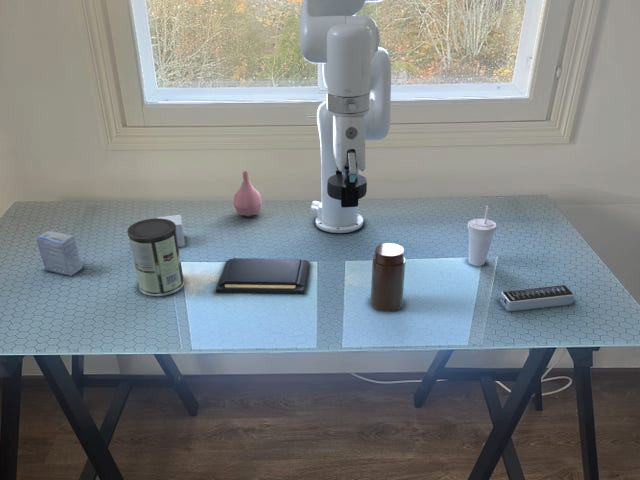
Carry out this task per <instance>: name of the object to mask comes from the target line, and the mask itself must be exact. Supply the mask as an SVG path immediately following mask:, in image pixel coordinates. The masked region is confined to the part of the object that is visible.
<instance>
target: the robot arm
mask: <svg viewBox="0 0 640 480" xmlns="http://www.w3.org/2000/svg"><path fill="white" fill-rule="evenodd" d="M382 1H384V0H304V1H303V4H302V6H301V8H300V14H299V20H298V21H299V23H298V24H299V25H298V27H299V28H298V44H299V51H300V54H301V56H302V57H303V59H304V60H305V61H306V62H308V63H311V64H322V77H323V78H322V80H323V84H324V87H325V88H326V100H325V101H323V102H322V103H320V104H319V106H318V108H317V111H316V123H317V128H318V135H319V142H320V143H319V145H320V165H321V166H320V169H321V170H320V184H321V185H320V186H321V187H320V188H321V190H320V191H321V192H320V193H321V195H320V197H321V199H320V200H321V201H317V200H313V201H312V203H311V206H310V211H311V212H314V213H317V216H316V218H315V225H316V227H317V228H318V229H319V230H321V231H324V232H327V233H332V234H346V233H352V232H355V231H358V230H359V229H361V228H362V227H363V225H364V217H363V216H362V215H361V214H360V213H358V212H359V199H358V194H359V186H358V175H360V174H359V173H360V171H361V172H364V171H365V170H366V141H378V140H383V139H384V138H386V137H387V136H388V134H389V132H390V127H391V100H392V63H391V57H390V55H389V53H388V51H387V49H385V48H383V47H381V46H380V40H381V39H380V38H381V36H380V32H381V31H380V27H379V25H377V22H376V21H375V20H374V19H373V17H370V16H368V15H357V14H358V13H359V12H360V11H361V10H362V9H363V8H364V7H365V4H366V3H380V2H382ZM370 96H371V97H370ZM341 173H342V180H343V186H341V200H337V199H334V198H331V197H330V196H329V195H328V193H327V183H328V178H329V177H331V176H333V175H336V174H341ZM346 174H349V176H347V178H346Z"/></svg>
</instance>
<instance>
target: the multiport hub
mask: <svg viewBox="0 0 640 480" xmlns="http://www.w3.org/2000/svg"><path fill="white" fill-rule="evenodd" d="M574 297H575V293H574V292H573V291H572V290H571V289H570V288H569V287H568V286H567V285H566V284H559V285H551V286H542V287H533V288H524V289H515V290H507V291H501V294H500V299H499V303H500V304H501V305H502V306H503V307H504V309H505V310H506V311H507V312H516V311H517V312H518V311H525V310H534V309H535V310H536V309H542V308H544V309H545V308H552V307H559V306H568V305H573V302H574Z"/></svg>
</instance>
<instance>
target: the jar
mask: <svg viewBox="0 0 640 480" xmlns="http://www.w3.org/2000/svg"><path fill="white" fill-rule="evenodd" d="M373 250H374V252H373V253H374V254H373V256H372V260H371V283H370V306H371V307H372V308H373V309H375V310H376V311H380V312H385V313H386V312H388V313H390V312H396V311H398V310H399V309H401V308H402V307H403V302H404V291H405V289H404V288H405V278H406V277H405V275H406V263H407V259H406V257H405V248H404V247H403V246H402V245H401V244H397V243H393V242H385V243H381V244H378V245H376V246H375V248H374V249H373Z"/></svg>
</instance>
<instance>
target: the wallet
mask: <svg viewBox="0 0 640 480" xmlns="http://www.w3.org/2000/svg"><path fill="white" fill-rule="evenodd" d="M309 269H310V262H309V260H308V259H301V258H264V257H263V258H261V257H259V258H258V257H257V258H255V257H253V258H251V257H250V258H249V257H233V258H230V259H228V260H226V261H225V263H224V266H223V270H222V272H221V275H220V278H219V280H218V283H217V286H216V289H215V292H216V293H220V294H221V293H225V294H230V293H231V294H235V293H236V294H286V295H287V294H293V295H304V294H305V289H306V286H307V280H308V274H309Z"/></svg>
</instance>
